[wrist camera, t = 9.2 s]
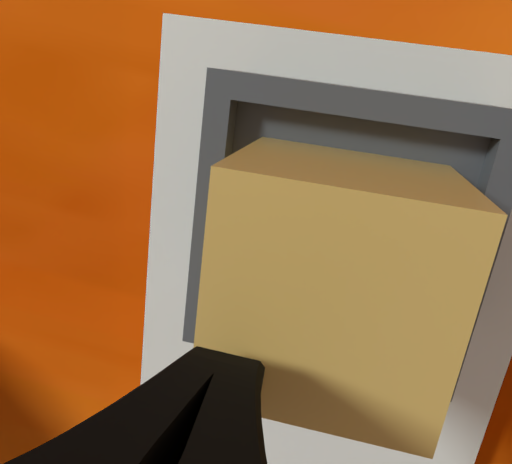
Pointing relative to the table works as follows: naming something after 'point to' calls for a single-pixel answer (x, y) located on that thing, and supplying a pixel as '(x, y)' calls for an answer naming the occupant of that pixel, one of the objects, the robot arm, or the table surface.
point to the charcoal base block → (347, 138)
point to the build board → (184, 190)
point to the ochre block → (346, 285)
